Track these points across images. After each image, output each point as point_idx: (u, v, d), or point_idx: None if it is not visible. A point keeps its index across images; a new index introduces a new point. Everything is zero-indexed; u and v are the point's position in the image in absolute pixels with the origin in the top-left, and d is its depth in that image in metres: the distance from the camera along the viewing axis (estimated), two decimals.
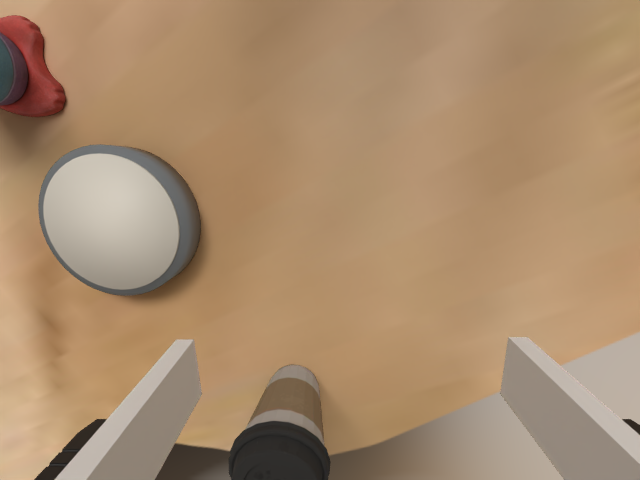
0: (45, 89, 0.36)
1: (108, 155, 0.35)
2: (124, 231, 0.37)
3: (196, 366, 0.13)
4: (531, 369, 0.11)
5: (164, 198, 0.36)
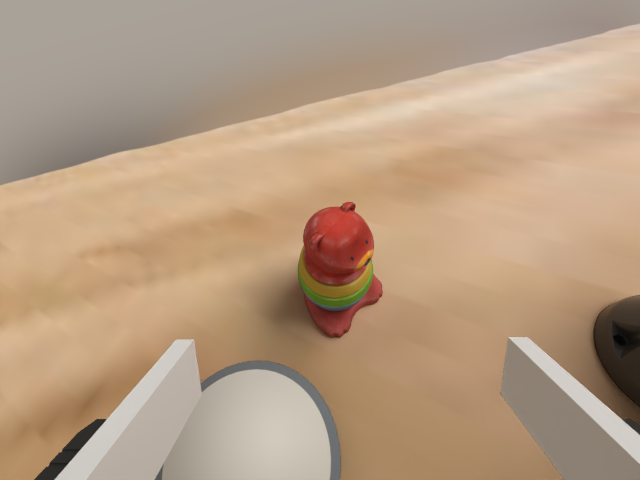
0: (342, 324, 0.39)
1: (322, 423, 0.32)
2: None
3: (196, 367, 0.13)
4: (531, 369, 0.11)
5: None
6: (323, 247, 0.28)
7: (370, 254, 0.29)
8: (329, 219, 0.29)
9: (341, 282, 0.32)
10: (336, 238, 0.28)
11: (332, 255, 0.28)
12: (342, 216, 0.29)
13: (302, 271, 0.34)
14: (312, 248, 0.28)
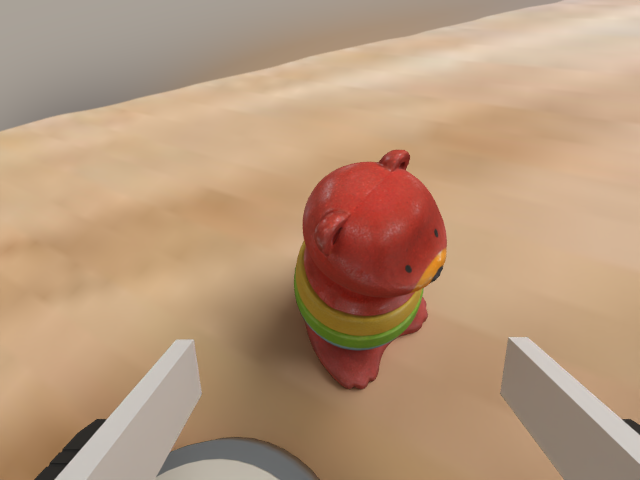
0: (366, 370, 0.24)
1: None
2: None
3: (196, 367, 0.13)
4: (531, 369, 0.11)
5: None
6: (346, 244, 0.13)
7: (443, 259, 0.14)
8: (358, 183, 0.13)
9: (375, 311, 0.17)
10: (376, 224, 0.12)
11: (366, 262, 0.13)
12: (386, 177, 0.13)
13: (301, 287, 0.19)
14: (322, 247, 0.12)
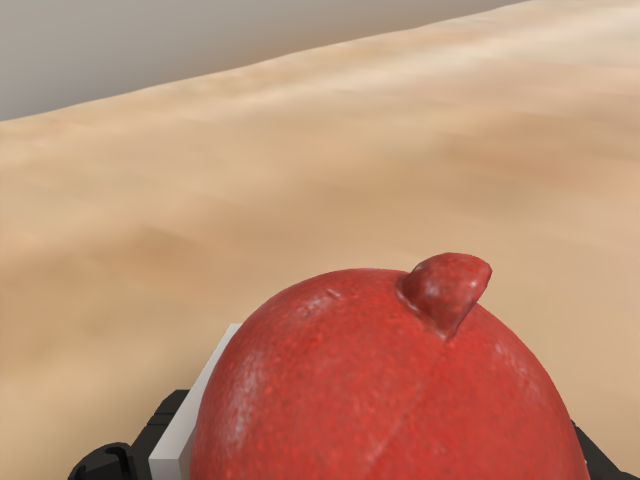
0: None
1: None
2: None
3: None
4: None
5: None
6: None
7: None
8: (338, 401, 0.04)
9: None
10: None
11: None
12: (434, 373, 0.04)
13: None
14: None
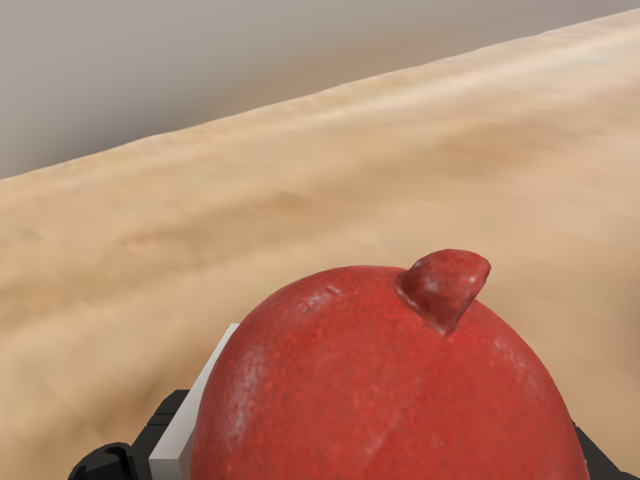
0: None
1: None
2: None
3: None
4: None
5: None
6: None
7: None
8: (338, 394, 0.04)
9: None
10: None
11: None
12: (433, 368, 0.04)
13: None
14: None
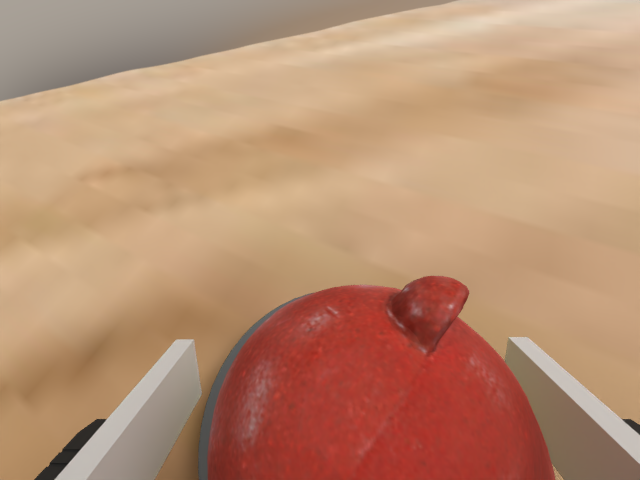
0: None
1: None
2: None
3: (196, 367, 0.13)
4: (530, 369, 0.11)
5: None
6: None
7: None
8: (335, 405, 0.05)
9: None
10: None
11: None
12: (416, 383, 0.05)
13: None
14: None
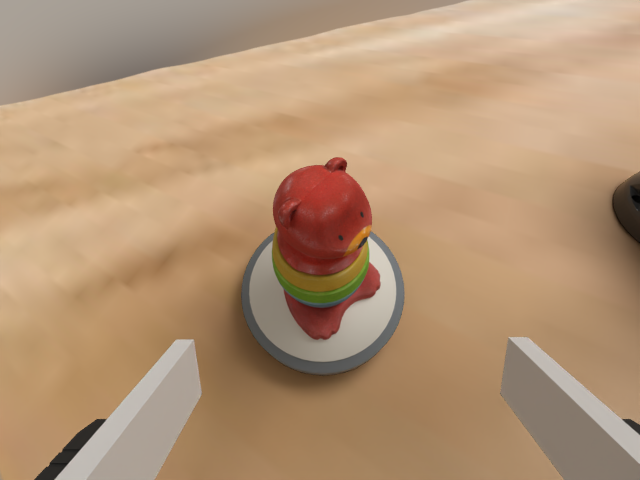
0: (329, 324, 0.31)
1: (385, 257, 0.36)
2: None
3: (196, 367, 0.13)
4: (531, 370, 0.11)
5: (383, 321, 0.33)
6: (299, 220, 0.19)
7: (366, 232, 0.21)
8: (307, 180, 0.20)
9: (326, 271, 0.23)
10: (317, 207, 0.19)
11: (311, 232, 0.19)
12: (327, 176, 0.20)
13: (275, 256, 0.26)
14: (282, 222, 0.19)
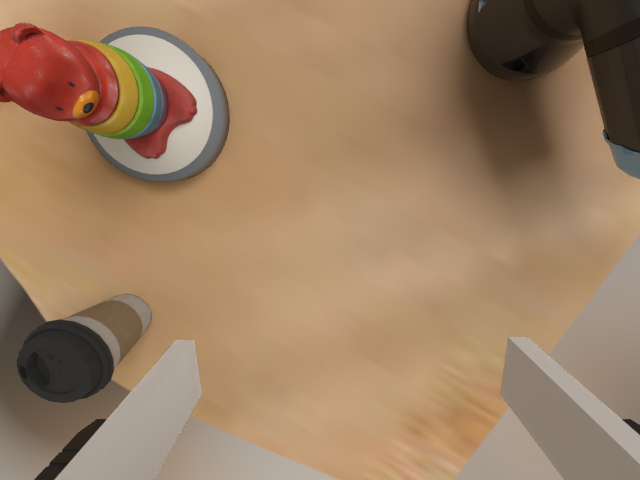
0: (152, 148, 0.39)
1: (202, 79, 0.38)
2: None
3: (196, 367, 0.13)
4: (531, 369, 0.11)
5: (201, 143, 0.40)
6: (12, 97, 0.24)
7: (85, 99, 0.25)
8: None
9: (90, 123, 0.29)
10: (16, 87, 0.23)
11: (29, 107, 0.24)
12: (14, 51, 0.22)
13: None
14: None
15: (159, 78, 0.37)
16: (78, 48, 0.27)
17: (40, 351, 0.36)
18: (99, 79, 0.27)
